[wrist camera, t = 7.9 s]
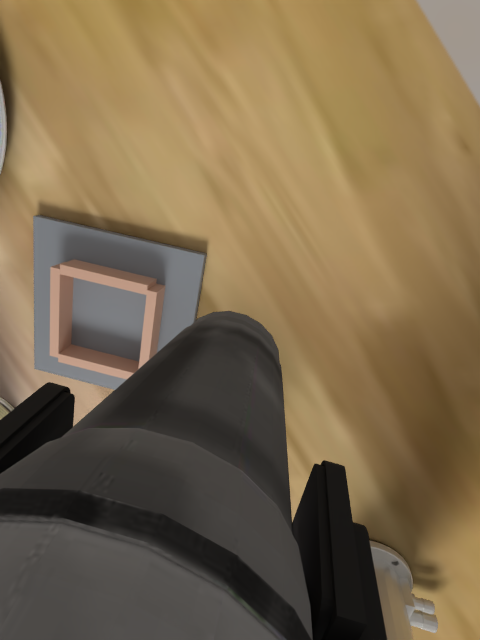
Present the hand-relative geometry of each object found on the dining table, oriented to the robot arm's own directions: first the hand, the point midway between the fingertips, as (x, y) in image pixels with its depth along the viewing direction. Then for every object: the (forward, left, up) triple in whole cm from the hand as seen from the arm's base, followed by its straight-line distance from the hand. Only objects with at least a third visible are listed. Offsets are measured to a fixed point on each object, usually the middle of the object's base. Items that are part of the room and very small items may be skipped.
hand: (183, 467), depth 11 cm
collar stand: (+15, +10, -29) cm, 35 cm away
